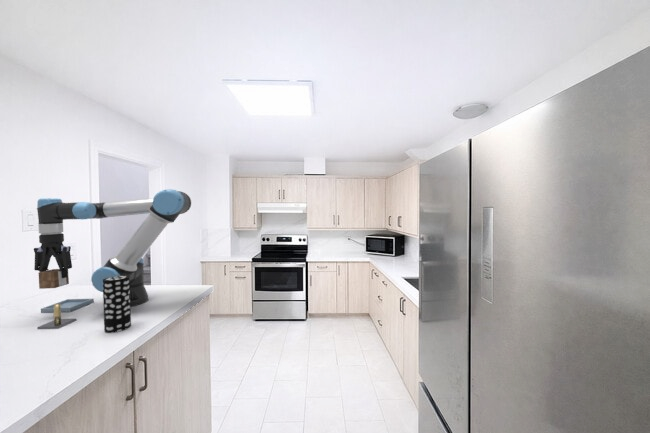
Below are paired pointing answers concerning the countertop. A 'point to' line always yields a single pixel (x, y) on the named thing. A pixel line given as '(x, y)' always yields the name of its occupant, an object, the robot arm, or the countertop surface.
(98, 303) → the countertop surface
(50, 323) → the brass post base plate
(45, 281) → the walnut block
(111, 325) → the white-spotted black cylinder
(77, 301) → the tray
